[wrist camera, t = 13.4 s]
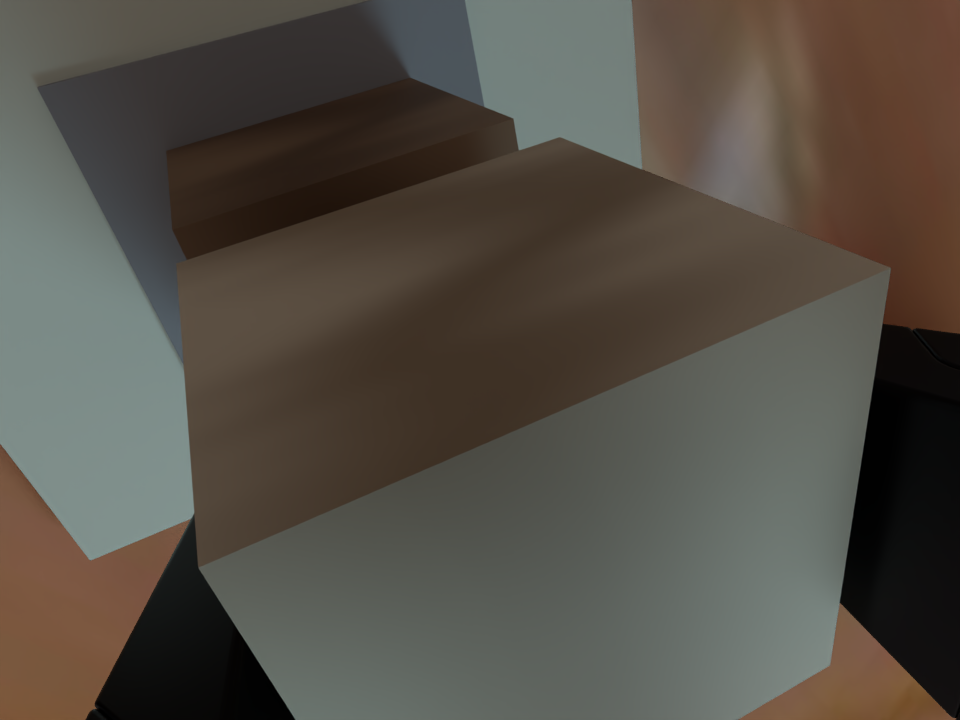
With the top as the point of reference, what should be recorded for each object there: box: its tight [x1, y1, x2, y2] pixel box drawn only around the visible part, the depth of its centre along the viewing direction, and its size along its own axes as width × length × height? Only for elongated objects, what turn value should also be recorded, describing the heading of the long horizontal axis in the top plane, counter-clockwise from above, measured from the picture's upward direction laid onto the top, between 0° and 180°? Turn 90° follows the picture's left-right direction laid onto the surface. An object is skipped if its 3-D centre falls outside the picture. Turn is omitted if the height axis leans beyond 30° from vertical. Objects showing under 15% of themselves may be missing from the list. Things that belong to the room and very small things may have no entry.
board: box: [0, 0, 642, 561], centre depth 15 cm, size 16×12×1 cm
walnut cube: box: [166, 78, 519, 260], centre depth 13 cm, size 5×5×5 cm
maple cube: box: [176, 137, 891, 720], centre depth 8 cm, size 5×5×5 cm
